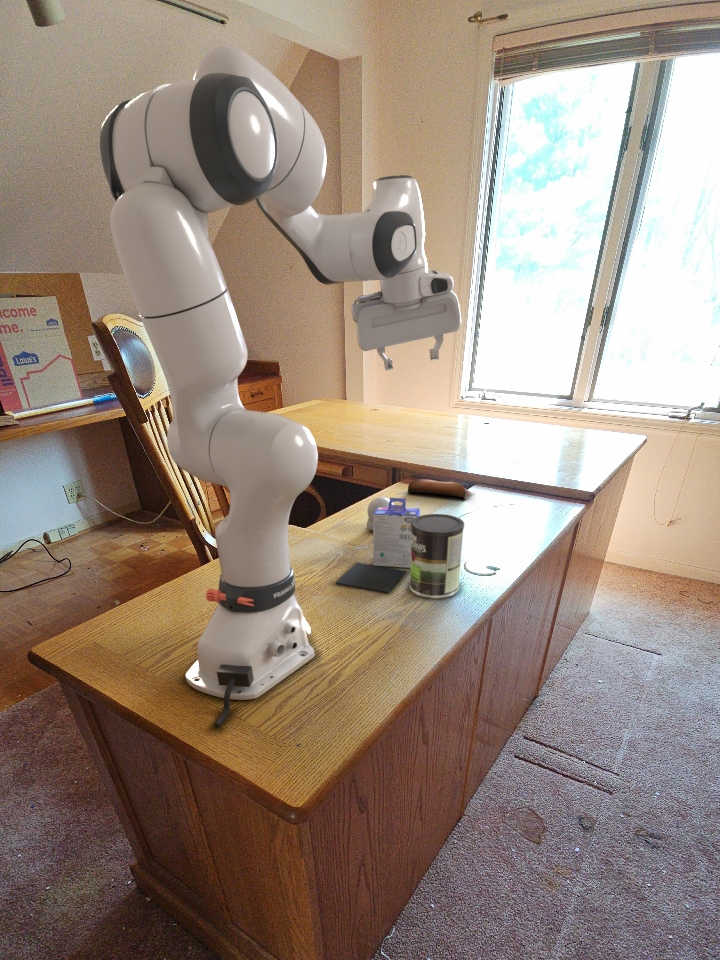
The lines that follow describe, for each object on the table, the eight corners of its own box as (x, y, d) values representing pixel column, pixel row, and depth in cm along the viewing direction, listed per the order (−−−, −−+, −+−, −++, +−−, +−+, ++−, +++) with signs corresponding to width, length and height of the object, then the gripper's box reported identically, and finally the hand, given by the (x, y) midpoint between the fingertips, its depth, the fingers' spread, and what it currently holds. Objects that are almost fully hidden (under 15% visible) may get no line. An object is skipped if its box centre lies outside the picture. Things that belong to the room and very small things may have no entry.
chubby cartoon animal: (402, 540, 139) (402, 506, 135) (362, 531, 145) (361, 499, 141) (416, 531, 144) (417, 498, 140) (377, 523, 150) (376, 491, 146)
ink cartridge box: (419, 559, 129) (421, 497, 121) (416, 569, 124) (418, 505, 117) (377, 556, 131) (376, 495, 123) (372, 566, 126) (371, 503, 118)
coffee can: (421, 602, 111) (423, 534, 103) (402, 581, 119) (403, 517, 112) (468, 594, 113) (473, 527, 106) (446, 574, 122) (450, 511, 114)
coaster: (387, 593, 114) (387, 591, 114) (335, 584, 119) (335, 582, 119) (406, 572, 123) (406, 570, 123) (357, 564, 127) (357, 562, 127)
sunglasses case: (472, 491, 170) (470, 475, 165) (466, 508, 168) (464, 492, 162) (417, 485, 177) (413, 469, 172) (409, 502, 174) (406, 486, 169)
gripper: (351, 301, 102) (363, 380, 111) (461, 277, 102) (464, 358, 111) (347, 294, 107) (359, 370, 116) (453, 271, 106) (456, 349, 116)
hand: (411, 364), depth 113 cm, fingers open, 8 cm apart
